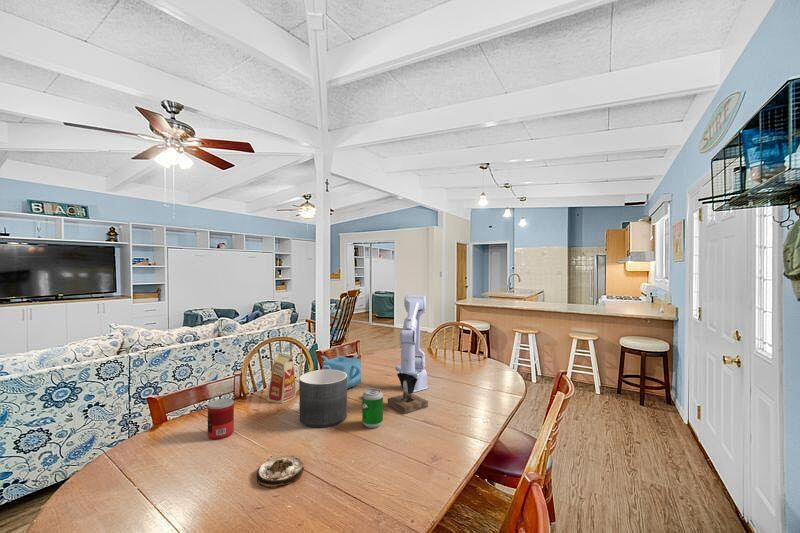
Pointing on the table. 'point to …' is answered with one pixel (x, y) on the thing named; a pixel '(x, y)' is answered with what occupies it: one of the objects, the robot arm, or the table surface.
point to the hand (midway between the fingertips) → (407, 391)
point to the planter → (322, 398)
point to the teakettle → (345, 368)
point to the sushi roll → (280, 471)
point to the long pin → (405, 390)
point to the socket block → (407, 403)
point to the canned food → (220, 418)
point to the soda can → (372, 408)
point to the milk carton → (282, 380)
